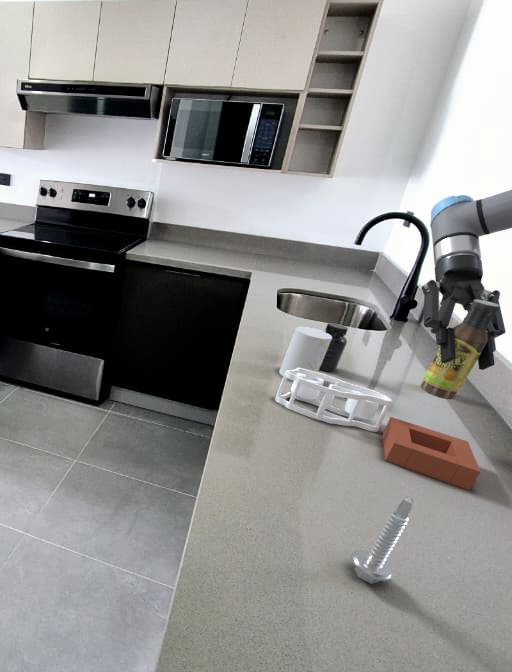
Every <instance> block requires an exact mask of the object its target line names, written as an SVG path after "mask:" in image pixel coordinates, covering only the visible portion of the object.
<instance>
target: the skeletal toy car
mask: <svg viewBox="0 0 512 672" xmlns="http://www.w3.org/2000/svg"><path fill="white" fill-rule="evenodd" d="M287 378H289V379H292V380H294V381H292V380H291V381H292V385H291V387H290V391H291V392H290V391H288V392H286V393H284V394H282V393H283V390H284V388H285V386H286V383H287V381H288V380H289V379H287ZM325 381H326V382H329V383H330V384H329V385H328V387H327V386H324V384H325ZM280 382H281V383H280V385H279V387H278V390H277V393H276V394H275V398H274V401H275V402H276V403H278V404H279V405H282V406H284V407H285V408H286V409H288V410H290V411H293V412H296V413H298V414H300V415H303V416H305V417H309V418H311V419H315V420H317V421H321V422H325V423H327V424H331V425H332V424H333V425H339V426H344V427H355V428H356V427H357V428H360V429H363V430H366V431H369V432H372V433H373V432H374V433H377V432H379V429H380V427H381V424H382V422H383V420H384V418H385V417H386V414H387V412H388V410H389V408H390V406H391V405H392V404H393V402H394V401H393V399H391V398H390V397H389V396H387V395H386V394H383V393H381V392H378V391H376V390H373V389H372V388H368V387H364V386H361V385H358V384H357V385H356V384H353V383H350V382H347V381H344V380H342V379H339V378H337V377H334V376H331V375H328V374H325V373H322V372H319V371H318V372H315V371H311V370H307V369H303V368H296V369H294V370H287V371H286V373H285V374H284V376H282V380H281V381H280ZM320 393H324V395H323V397H322V400H319V399H318V398H319V395H320ZM335 397H338V398H342V399H346V402H345V404H344V406H343V409H342V408H338V407H336V406H333V405H332V403H333V401H334V398H335ZM288 398H289V401H288ZM295 400H298V401H301V402H305V403H308V404H311V405H314V406H317V407H318V409H317V411H316V412H314V411H311V410H308V409H305V408H303V407H300V406H298V405H295V404H294V402H295ZM380 405H381V406H383V408H382V410H381V412H380V414H379V416H378V418H377V420H376V422H375V421H374V420H373V419H374V417H375V415H376V413H377V411H378V409H379V407H380Z"/></svg>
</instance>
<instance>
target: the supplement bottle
mask: <svg viewBox="0 0 512 672" xmlns="http://www.w3.org/2000/svg"><path fill="white" fill-rule="evenodd" d="M348 329H349V328H348V327H347V326H346V325H343V324H340V323H335V322H327V324H326V326H325V332H326V333H328V334H330V335H331V336H332V339H331V342H330V344H329V347H328V349H327V351H326V354H325V356H324V359H323V361H322V363H321V366H320V368H319V371H323V372H330V373H331V372H335V371H336V370H337V369H338V366H339V362H340V361H341V358H342V356H343V354H344V351H345V348H346V346H347V345H348V340H347V338H346V337H345V336H346V335H347V332H348Z"/></svg>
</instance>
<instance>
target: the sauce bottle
mask: <svg viewBox="0 0 512 672" xmlns="http://www.w3.org/2000/svg"><path fill="white" fill-rule="evenodd" d="M470 304H471V303H470ZM499 307H500V308H501V305H500V306H499V305H498V304H495V303H492V302H488V301H484V300H474V301H473V302H472V304H471V306H470V310H469V312H468V311H467V313H466V315H465V317H464V318H463V321H462V322H460V323H459V324H457V325H456V326H454V327H452V328H453V333H454V344H455V355H456V358H455V359H453V360H451V361H449V362H447V363H441V352H440V347H439V349H438V350H437V352H436V354H435V356H434V358H433V360H432V361H431V363H430V364H429V367H428V369H427V370H428V371H427V370H426V371H427V373H426V372H425V373H426V374H425V373H424V375H423V381H422V382H421V383H420V388H421V390H423V391H424V392H425V393H427V394H429V395H431V396H434V397H436V398H440V399H444V400H453V399H454V398H455V397H456V396H457V395H458V392H460V390H461V389H462V387H463V385H464V384H465V382H466V381H467V378H468V377H469V375H470V374H471V372H472V370H473V368H474V367H475V364H476V363H477V362H478V358H479V356H480V354H481V353H482V350H483V348H484V346H485V345H486V343H487V340H488V338H487V332H486V328H487V327H488V326H489V323H490V321H491V319H492V317H493V316H494V314H495V313H497V311H498V309H499Z"/></svg>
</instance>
